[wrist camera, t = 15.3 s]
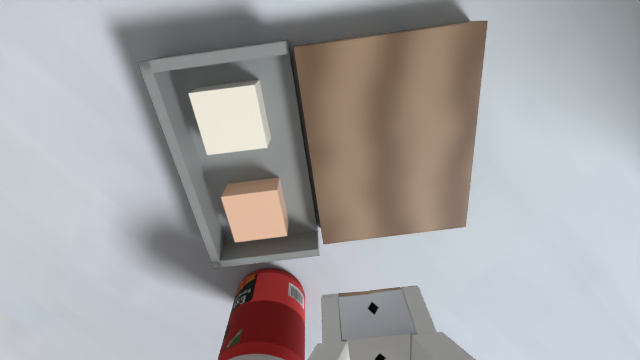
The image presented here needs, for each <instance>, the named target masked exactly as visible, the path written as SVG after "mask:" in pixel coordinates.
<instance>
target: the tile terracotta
mask: <svg viewBox="0 0 640 360" xmlns="http://www.w3.org/2000/svg"><path fill="white" fill-rule="evenodd" d="M221 199H222V202H223V206H224V209H225V212H226V215H227V218H228V222H229V225H230V228H231V231H232V234H233V237H234V241H235V242H242V241H251V240H259V239H267V238H275V237H283V236H287V232H288V223H289V220H288V215H287V211H286V206H285V201H284V196H283V191H282V186H281V182H280V177H278V178H270V179H262V180H255V181H247V182H239V183H231V184H227V186H226V188H225V190H224V192H223V194H222V196H221Z"/></svg>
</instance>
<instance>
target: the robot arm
mask: <svg viewBox="0 0 640 360" xmlns="http://www.w3.org/2000/svg"><path fill="white" fill-rule="evenodd" d="M321 306H322V343H320V344H317V345H316V347H315V349H314V350H313V352H312V354H311V355H310V357H309V358H308V360H476V359H474V358H473V357H472V356H471V355H469V354H468V353H467V352H466V351H465V350H463V349H462V348H461V347H460V346H459V345H457V344H456V343H455V342H454V341H452V340H451V339H450V338H449V337H448V336H446V335H445V334H444V333H443V332H437V331H436V329H435V326H434V324H433V321H432V319H431V316H430V314H429V311H428V309H427V306H426V304H425V301H424V299H423V296H422V294H421V291H420V289H419V287H418V286H408V287H401V288H400V287H397V288H388V289H380V290H371V291H365V292H351V293H338V294H328V295H322V299H321Z"/></svg>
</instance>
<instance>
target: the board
mask: <svg viewBox="0 0 640 360" xmlns="http://www.w3.org/2000/svg"><path fill="white" fill-rule="evenodd" d="M486 30H487V21H470V22H463V23H455V24H448V25H441V26H434V27H427V28H420V29H412V30H405V31H398V32H391V33H384V34H377V35H370V36H362V37H355V38H348V39H341V40H334V41H327V42H320V43H312V44H305V45H298V46H295V47H294V54H295V60H296V67H297V73H298V80H299V87H300V93H301V100H302V106H303V113H304V120H305V126H306V133H307V139H308V146H309V152H310V159H311V166H312V172H313V179H314V185H315V192H316V199H317V205H318V212H319V218H320V225H321V232H322V238H323V244H330V243H338V242H346V241H354V240H362V239H371V238H379V237H387V236H395V235H403V234H411V233H420V232H428V231H436V230H444V229H452V228H460V227H466V219H467V210H468V200H469V191H470V181H471V172H472V162H473V153H474V143H475V134H476V125H477V115H478V106H479V96H480V87H481V77H482V68H483V58H484V49H485V40H486Z"/></svg>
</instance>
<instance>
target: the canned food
mask: <svg viewBox="0 0 640 360" xmlns="http://www.w3.org/2000/svg"><path fill="white" fill-rule="evenodd" d="M218 360H305V294H304V291H303V288H302V286H301V284H300V282H299V281H298V280H297V279H296V278H295V277H294V276H292V275H291V274H289V273H287V272H284V271H281V270H277V269H262V270H258V271H255V272H253V273H251V274H249V275H248V276H246V277H245V279H244V280H243V281H242V282H241V284H240V285H239V287H238V289H237V293H236V296H235V300H234V303H233V307H232V311H231V314H230V318H229V321H228V325H227V329H226V332H225V336H224V339H223V343H222V346H221V350H220V354H219V357H218Z"/></svg>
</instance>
